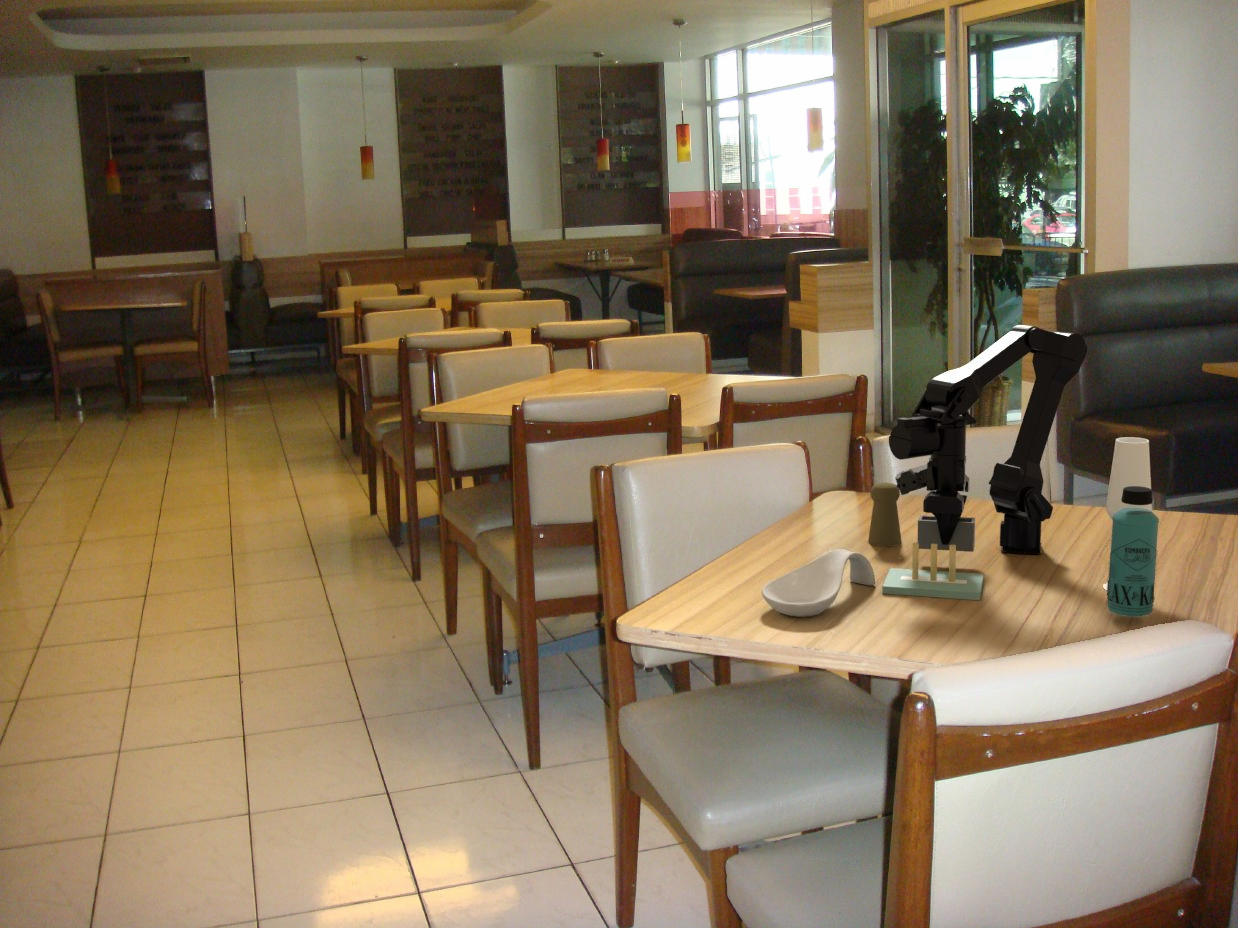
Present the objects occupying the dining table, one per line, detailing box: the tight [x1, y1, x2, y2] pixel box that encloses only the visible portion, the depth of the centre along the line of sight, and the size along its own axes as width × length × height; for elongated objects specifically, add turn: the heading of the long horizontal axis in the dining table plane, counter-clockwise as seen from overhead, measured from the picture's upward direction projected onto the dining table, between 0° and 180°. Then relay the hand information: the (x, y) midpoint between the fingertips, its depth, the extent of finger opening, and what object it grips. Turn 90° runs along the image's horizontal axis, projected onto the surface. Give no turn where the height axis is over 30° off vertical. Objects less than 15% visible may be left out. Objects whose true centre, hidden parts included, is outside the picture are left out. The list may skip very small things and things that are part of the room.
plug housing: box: [917, 514, 976, 553], centre depth 206 cm, size 9×4×5 cm, turn 70°
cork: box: [867, 482, 903, 547], centre depth 222 cm, size 6×6×11 cm
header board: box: [881, 542, 984, 601], centre depth 195 cm, size 15×10×7 cm, turn 70°
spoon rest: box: [761, 548, 876, 618], centre depth 191 cm, size 24×12×7 cm, turn 137°
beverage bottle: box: [1105, 486, 1160, 617], centre depth 176 cm, size 6×7×20 cm
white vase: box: [1102, 436, 1153, 591], centre depth 189 cm, size 7×7×24 cm
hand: (946, 541), depth 207 cm, fingers closed on plug housing, 4 cm apart
